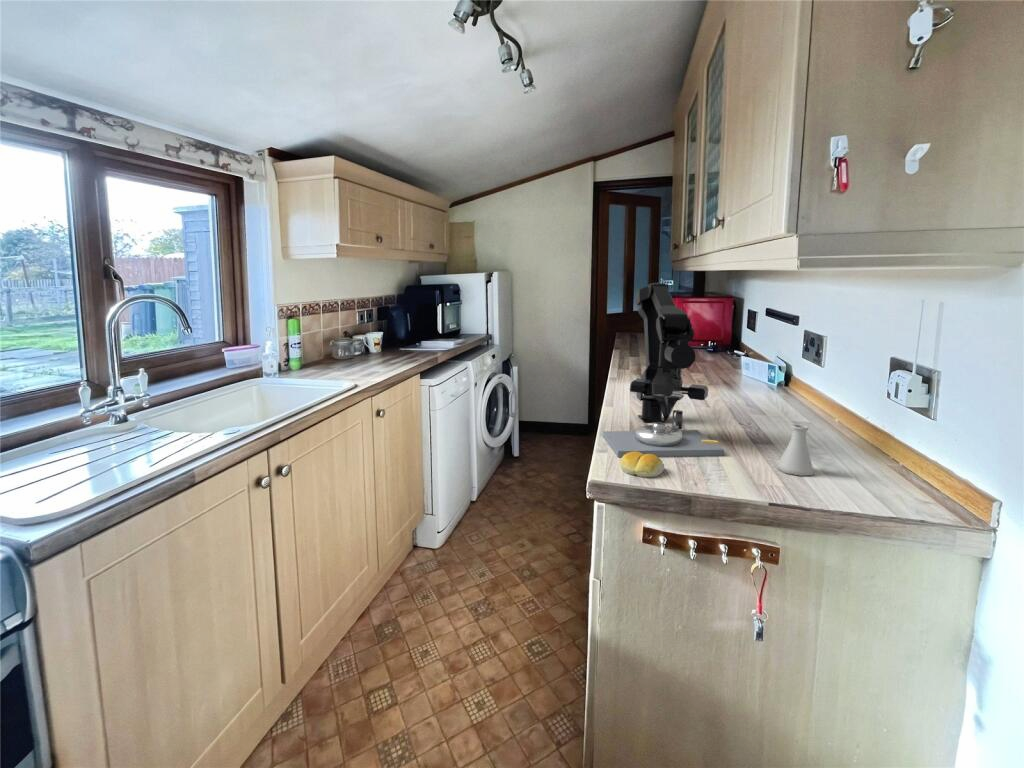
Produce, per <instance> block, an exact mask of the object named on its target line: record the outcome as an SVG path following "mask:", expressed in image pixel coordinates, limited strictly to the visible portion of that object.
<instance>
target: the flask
mask: <svg viewBox="0 0 1024 768" xmlns="http://www.w3.org/2000/svg"><path fill="white" fill-rule="evenodd" d="M791 428H792V434H791V437H790V441H788V442H789V443H788V444H787V446H786V448H785V450H784V452H783V454H782V456H781V458H780V459H779V461H778V462H777V465H776V469H778V470H779V471H781V472H783V473H784V474H789V475H796V476H801V477H802V476H803V477H804V476H814V475H815V474H814V468H813V464H812V460H811V457H810V454H809V453H810V452H809V449H808V445H807V431H809V425H806V424H800V423H799V424H798V423H795V424H794V423H793V424H792V425H791Z"/></svg>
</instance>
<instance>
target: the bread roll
mask: <svg viewBox="0 0 1024 768" xmlns="http://www.w3.org/2000/svg"><path fill="white" fill-rule="evenodd" d="M620 469H621V470H622V471H623V472H624V473H627V474H628V475H632V476H633V475H634V476H635V475H636V476H638V477H639V478H640V477H642V478H655V477H657V476H660V475H661V474H662V473H663V471H664V469H665V464H664V463H663V460H662V459H661V458H660V457H657V456H655V455H653V454H645V455H644V454H642V453H640V452H629V453H627V454H625V455H624V456H623V457H620Z"/></svg>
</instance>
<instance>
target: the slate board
mask: <svg viewBox="0 0 1024 768" xmlns="http://www.w3.org/2000/svg"><path fill="white" fill-rule="evenodd" d="M679 430H680V431H681V432H682V442H681V443H680V444H678V445H674V446H654V445H649V444H645V443H642V442H639V441H638V440H636V438H635V436H636V430H611V431H610V430H607V431H606V430H605V431H604V430H603V431H602V438H603V439H604V441H606V443H607V444H608V447H610V449H611V450H612V451H613V453H614V454H615V455H616V457H617V458H622V457H623V456H624V455H625V454H627V453H629V452H640V453H642V454H644V455H645V454H653V455H655V456H657V457H658V458H660V457H661V458H664V457H668V458H669V457H670V458H671V457H720V456H721V457H722V456H725V448H723V447H721V446H720V445H719V441H718V440H713V439H712V440H711V439H710V438H709V437H708V436H706V435H705V434H704V433H702V432H701V431H699V430H698V429H688V430H687V429H684V430H683V429H679Z"/></svg>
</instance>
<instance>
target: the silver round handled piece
mask: <svg viewBox="0 0 1024 768" xmlns="http://www.w3.org/2000/svg"><path fill="white" fill-rule="evenodd" d="M683 415H684V411H683V410H679V409H675V410H674V409H673V410H672V423H671V424H669V425H667V426H666V422H652V425H651V424H650V425H649V424H648V425H647V424H646V425H641V426H638V427H636V428H635V431H636V436H635V438H636V440H638V441H639V442H642V443H645V444H649V445H654V446H674V445H678V444H680V443H681V442H682V432H681V431H680V430H683V417H684V416H683Z"/></svg>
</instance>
